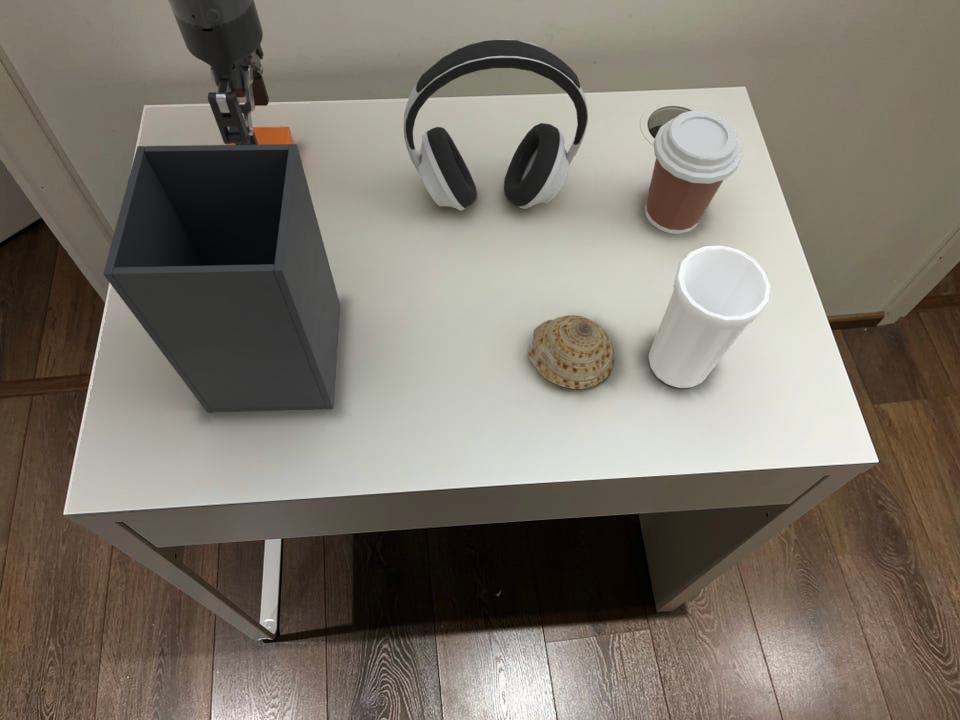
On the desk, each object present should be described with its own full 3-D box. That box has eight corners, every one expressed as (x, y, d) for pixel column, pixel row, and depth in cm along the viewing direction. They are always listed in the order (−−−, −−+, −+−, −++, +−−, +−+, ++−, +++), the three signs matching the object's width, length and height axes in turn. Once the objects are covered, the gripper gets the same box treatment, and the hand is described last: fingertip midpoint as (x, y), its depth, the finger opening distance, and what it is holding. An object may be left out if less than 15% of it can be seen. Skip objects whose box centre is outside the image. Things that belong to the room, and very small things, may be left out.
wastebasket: (206, 412, 68) (102, 274, 48) (223, 307, 74) (137, 145, 54) (333, 408, 68) (282, 270, 49) (340, 304, 74) (296, 143, 54)
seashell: (515, 322, 71) (588, 290, 69) (531, 343, 76) (600, 314, 74) (538, 392, 67) (616, 360, 65) (554, 410, 72) (627, 381, 70)
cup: (622, 355, 72) (656, 273, 60) (677, 316, 75) (721, 229, 62) (678, 413, 69) (726, 338, 56) (734, 370, 72) (792, 289, 59)
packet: (233, 174, 83) (224, 152, 80) (237, 149, 85) (229, 127, 82) (292, 173, 83) (286, 151, 80) (295, 148, 85) (289, 126, 82)
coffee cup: (617, 201, 82) (641, 121, 72) (678, 172, 85) (709, 91, 74) (665, 254, 78) (697, 178, 68) (727, 223, 81) (767, 145, 70)
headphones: (411, 227, 79) (397, 80, 62) (408, 172, 84) (395, 20, 66) (577, 219, 81) (610, 72, 63) (567, 165, 85) (594, 14, 67)
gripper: (182, -48, 69) (230, 87, 83) (156, 47, 62) (214, 177, 76) (259, -49, 69) (294, 86, 83) (242, 46, 62) (283, 176, 76)
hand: (256, 130), depth 80 cm, fingers open, 8 cm apart
